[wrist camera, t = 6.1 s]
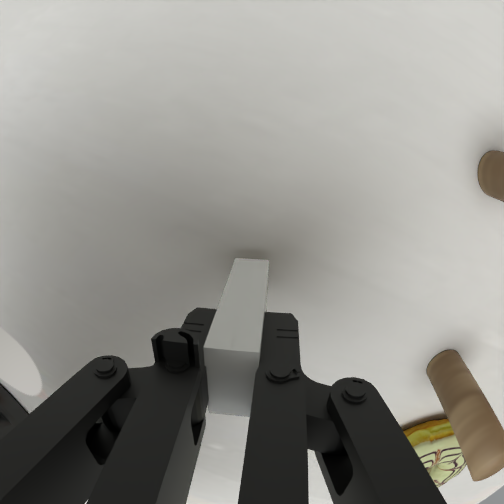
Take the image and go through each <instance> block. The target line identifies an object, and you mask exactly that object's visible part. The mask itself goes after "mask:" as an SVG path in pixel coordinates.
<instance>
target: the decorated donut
mask: <svg viewBox="0 0 504 504" xmlns="http://www.w3.org/2000/svg"><path fill="white" fill-rule="evenodd" d="M403 432H404V434H405V435H406V437H407V438H408V440H409V442H410V443H411V445H412V447H413V448H414V450H415V451H416V453H417V455H418V456H419V458H420V460H421V461H422V463H423V465H424V466H425V468H426V469H427V471H428V473H429V474H430V476H431V478H432V479H433V481H434V483H435V484H436V486H437V488H438V487H440V486H442V485H443V484H445V483H446V482H447V481H449V480H450V479H452V478H453V477H455V476H456V475H458V474H459V473H460V472H461V471H462V470H463V469H464V467H465V466H466V465H467V463H466V461H465V458H464V456H463V453H462V451H461V448H460V446H459V443H458V441H457V439H456V436H455V434H454V432H453V429H452V427H451V425H450V422H449V420H448V419H441V420H432V421H428V422H425V423H421V424H418V425H416V426H414V427H412V428H409V429H407V430H405V431H403Z"/></svg>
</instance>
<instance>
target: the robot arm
mask: <svg viewBox="0 0 504 504" xmlns="http://www.w3.org/2000/svg"><path fill="white" fill-rule="evenodd" d="M268 273H269V260H262V259H245V258H235V261H234V264H233V266H232V269H231V272H230V275H229V277H228V280H227V283H226V286H225V288H224V291H223V294H222V297H221V300H220V302H219V305H218V308H217V309H207V308H196V309H194V310H193V311H192V312H190V313H189V314H188V315H187V317H186V319H185V321H184V324H183V325H182V327H181V328H171V329H166V330H162V331H160V332H158V333H156V334H155V335H154V336H153V337H152V338H151V340H152V346H153V352H154V358H155V363H154V365H153V366H150V367H144V368H128V367H127V364H126V363H125V361H124V360H122V359H121V358H119V357H116V356H101V357H98V358H95V359H94V360H92V361H90V362H89V363H88V364H87V365H86V366H84V367H83V368H82V369H81V370H80V371H79V372H77V373H76V374H75V375H74V376H73V377H72V378H70V379H69V380H68V381H67V382H66V383H65V384H63V385H62V386H61V387H60V388H59V389H58V390H57V391H55V392H54V393H53V394H52V395H51V396H50V397H49V398H47V399H46V400H45V401H44V402H43V403H42V404H41V405H39V406H38V407H37V408H36V409H35V410H34V411H33V412H31V413H30V414H29V415H28V414H27V413H26V412H25V410H24V409H23V408H22V407H21V406H20V405H19V404H18V402H17V401H16V400H15V399H14V398H13V397H12V396H11V395H10V394H9V393H8V392H7V391H6V390H5V389H4V388H3V387H2V386H1V385H0V504H84V503H85V502H86V501H87V500H88V502H87V504H186V501H187V497H188V493H189V489H190V485H191V481H192V477H193V473H194V469H195V465H196V461H197V457H198V453H199V450H200V446H201V442H202V438H203V434H204V430H205V426H206V419H205V412H206V408H207V405H208V411H209V413H217V414H226V415H235V416H246V417H250V420H249V427H248V435H247V442H246V449H245V457H244V464H243V471H242V478H241V485H240V492H239V499H238V504H309V503H308V453H307V449H310V450H314V451H315V455H316V458H317V460H318V463H319V466H320V468H321V471H322V474H323V477H324V479H325V482H326V485H327V487H328V490H329V493H330V495H331V498H332V501H333V503H334V504H447V503H446V501H445V500H444V498H443V496H442V495H441V493H440V491H439V489H438V488H437V486H436V484H435V483H434V481H433V479H432V478H431V476H430V474H429V473H428V471H427V469H426V468H425V466H424V465H423V463H422V461H421V460H420V458H419V456H418V455H417V453H416V451H415V450H414V448H413V447H412V445H411V443H410V442H409V440H408V438H407V437H406V435H405V434H404V432H403V430H402V429H401V427H400V426H399V424H398V422H397V421H396V419H395V418H394V416H393V414H392V413H391V411H390V410H389V408H388V407H387V405H386V403H385V402H384V400H383V399H382V397H381V396H380V394H379V392H378V391H377V389H376V388H375V387H374V386H373V385H372V384H371V383H369V382H367V381H365V380H364V379H359V378H355V377H351V378H343V379H340V380H338V381H337V382H335V383H334V384H333V385H332V386H328V385H324V384H320V383H318V382H315V381H313V380H311V379H309V378H308V377H307V376H306V375H305V374H304V373H303V371H302V369H301V365H300V348H299V332H298V321H297V320H296V318H295V317H294V316H293V315H292V314H291V313H273V312H266V308H267V290H268Z"/></svg>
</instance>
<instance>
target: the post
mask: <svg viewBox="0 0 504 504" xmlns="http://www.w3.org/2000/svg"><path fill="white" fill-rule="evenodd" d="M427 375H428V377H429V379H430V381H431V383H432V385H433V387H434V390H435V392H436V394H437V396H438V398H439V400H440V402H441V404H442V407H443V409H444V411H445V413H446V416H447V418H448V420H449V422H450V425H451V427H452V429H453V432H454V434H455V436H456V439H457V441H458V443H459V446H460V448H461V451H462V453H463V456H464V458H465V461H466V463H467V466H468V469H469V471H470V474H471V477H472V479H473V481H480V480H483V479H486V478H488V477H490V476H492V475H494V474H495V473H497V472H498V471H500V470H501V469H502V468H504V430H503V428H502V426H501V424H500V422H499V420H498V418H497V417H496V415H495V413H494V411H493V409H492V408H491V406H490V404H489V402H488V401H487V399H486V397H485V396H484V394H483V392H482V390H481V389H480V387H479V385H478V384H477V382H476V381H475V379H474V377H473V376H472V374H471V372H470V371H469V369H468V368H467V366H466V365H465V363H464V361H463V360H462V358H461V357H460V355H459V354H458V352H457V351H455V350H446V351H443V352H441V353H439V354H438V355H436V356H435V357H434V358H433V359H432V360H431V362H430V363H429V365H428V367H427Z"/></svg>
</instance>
